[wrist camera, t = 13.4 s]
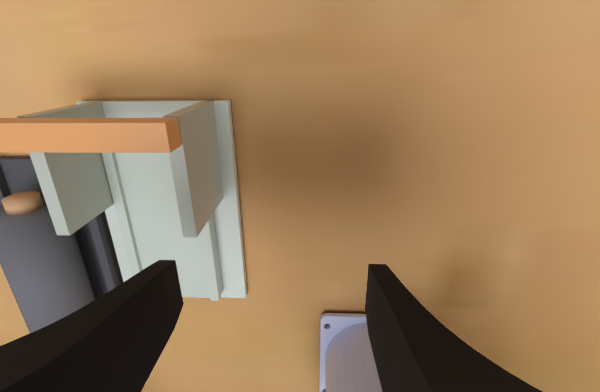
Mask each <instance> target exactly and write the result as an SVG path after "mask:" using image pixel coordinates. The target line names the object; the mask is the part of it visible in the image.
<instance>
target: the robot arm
mask: <svg viewBox="0 0 600 392" xmlns="http://www.w3.org/2000/svg"><path fill="white" fill-rule="evenodd" d="M182 306H183V299H182V293H181V288H180V283H179V277H178V272H177V266H176V261H175V260H158V261H157V262H155V263H153V264H151V265H150V266H148V267H147V268H145V269H143V270H142V271H140V272H139V273H137V274H136V275H134V276H133V277H131V278H129V279H128V280H126V281H125V282H123V283H122V284H120V285H119V286H117V287H115V288H114V289H112V290H111V291H109V292H107V293H106V294H104V295H102V296H101V297H99V298H97V299H96V300H94V301H92V302H91V303H89V304H87V305H86V306H84V307H82V308H80V309H79V310H77V311H75V312H73V313H71V314H69V315H67V316H66V317H64V318H62V319H60V320H58V321H56V322H54V323H52V324H50V325H48V326H45V327H43V328H41V329H39V330H37V331H34V332H32V333H30V334H28V335H25V336H23V337H21V338H19V339H16V340H14V341H12V342H9V343H7V344H5V345H2V346H0V392H141V391H142V388H143V386H144V384H145V383H146V381H147V379H148V377H149V375H150V373H151V371H152V370H153V368H154V366H155V364H156V362H157V360H158V358H159V357H160V355H161V353H162V351H163V349H164V347H165V345H166V343H167V342H168V340H169V338H170V336H171V334H172V332H173V330H174V328H175V325H176V323H177V320H178V318H179V315H180V312H181V309H182ZM365 311H366V314H348V313H324V314H322V316H321V324H320V382H319V392H542V391H540V390H538V389H536V388H535V387H533V386H531V385H529V384H527V383H526V382H524V381H522V380H521V379H519V378H517V377H516V376H514V375H512V374H511V373H509V372H507V371H506V370H504V369H503V368H501V367H499V366H498V365H496V364H495V363H493V362H492V361H490V360H489V359H487V358H486V357H484V356H483V355H482V354H480V353H479V352H477V351H476V350H474V349H473V348H472V347H470V346H469V345H467V344H466V343H465V342H463V341H462V340H461V339H460V338H458V337H457V336H456V335H455V334H453V333H452V332H451V331H450V330H449V329H447V328H446V327H445V326H444V325H443V324H441V323H440V322H439V321H438V320H437V319H436V318H435V317H434V316H433V315H432V314H431V313H430V312H428V311H427V310H426V309H425V308H424V307H423V306H422V305H421V304H420V302H419V301H418V300H417V299H416V298H415V297H414V296H413V295H412V294H411V293H410V292H409V291H408V290H407V288H406V287H405V286H404V285H403V284H402V283H401V282H400V280H399V279H398V278H397V277H396V276H395V274H394V273H393V272H392V271H391V270H390V268H389V267H388V266H387V265H386V264H369V269H368V281H367V293H366V305H365ZM325 324H329V325H325Z"/></svg>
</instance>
